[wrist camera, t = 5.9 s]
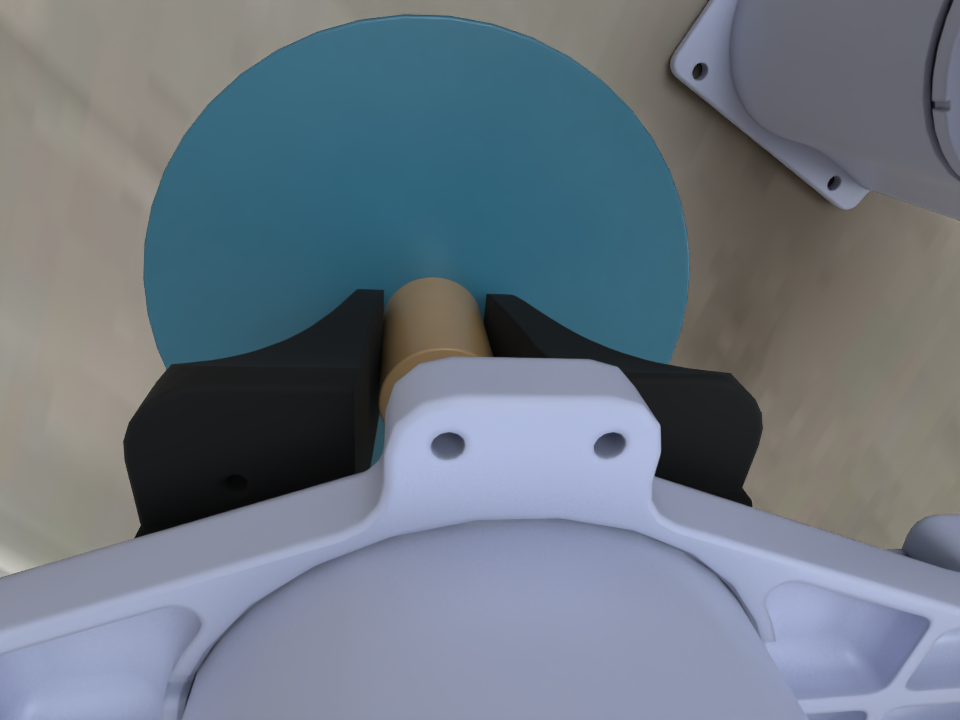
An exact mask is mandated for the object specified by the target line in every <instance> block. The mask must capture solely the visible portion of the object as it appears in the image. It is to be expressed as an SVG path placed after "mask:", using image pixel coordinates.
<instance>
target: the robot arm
mask: <svg viewBox="0 0 960 720" xmlns="http://www.w3.org/2000/svg"><path fill="white" fill-rule="evenodd" d="M698 63H700V64H701V65H702V73H701V76H700V77H699V78H697V79H694V78H693V76H692V71H693V69H694V67H695V66H696V65H697V64H698ZM670 68H671V72H672V73H673V75H674V76H675V77H676V78H678V79H679V80H680V81H681V82H682V83H684V84H685V85H686V86H687V87H689V88H690V89H691V90H692V91H694V92H695V93H696V94H697V95H699V96H700V97H701V98H702V99H703V100H705V101H706V102H707V103H708V104H710V105H711V106H712V107H713V108H715V109H716V110H717V111H718V112H720V113H721V114H722V115H723V116H724V117H726V118H727V119H728V120H729V121H731V122H732V123H733V124H734V125H736V126H737V127H738V128H739V129H740V130H742V131H743V132H744V133H745V134H747V135H748V136H749V137H750V138H752V139H753V140H754V141H755V142H757V143H758V144H759V145H760V146H761V147H763V148H764V149H765V150H766V151H768V152H769V153H770V154H771V155H773V156H774V157H775V158H776V159H777V160H779V161H780V162H781V163H782V164H784V165H785V166H786V167H787V168H789V169H790V170H791V171H792V172H794V173H795V174H796V175H797V176H798V177H800V178H801V179H802V180H803V181H805V182H806V183H807V184H808V185H810V186H811V187H812V188H813V189H815V190H816V191H817V192H818V193H819V194H821V195H822V196H823V197H824V198H826V199H827V200H828V201H829V202H831V203H832V204H833V205H834V206H836V207H838V208H841V209H843V210H849V209H851V208H853V207H855V206H856V205H857V204H858V203H859V202H860V201H861V200H862V199H863V198H864V196H865V195H866V194H867V193H868V192H869V191H870V190H872V191H875V192H878V193H881V194H883V195H886V196H889V197H892V198H895V199H898V200H901V201H904V202H907V203H910V204H913V205H916V206H919V207H922V208H925V209H927V210H930V211H933V212H936V213H939V214H942V215H945V216H948V217H951V218H954V219H957V220H960V0H709V2H708V3H707V5H706V6H705V8H704V9H703V11H702V12H701V14H700V15H699V17H698V18H697V20H696V21H695V23H694V24H693V25H692V27H691V28H690V30H689V31H688V33H687V34H686V36H685V37H684V39H683V40H682V42H681V43H680V45H679V46H678V47H677V49H676V50H675V52H674V54H673V56H672V58H671V62H670ZM833 176H834V182H833V183H832V185H831V186H829V187H827V183H828V181H829V180H830V179H831V178H832V177H833ZM383 324H384V290H372V289H357V290H355V291H354V292H353V293H352V294H351V295H350V296H349V297H348V298H346V299H345V300H344V301H343V302H342V303H341V304H340V305H339V306H338V307H337V308H335V309H334V310H333V311H332V312H331V313H329V314H328V315H326V316H325V317H324V318H322V319H321V320H319V321H318V322H316V323H315V324H314V325H312V326H311V327H309V328H307V329H306V330H304V331H302V332H300V333H298V334H296V335H294V336H292V337H290V338H288V339H286V340H284V341H281V342H278V343H276V344H273V345H270V346H267V347H264V348H262V349H259V350H256V351H252V352H249V353H245V354H241V355H236V356H231V357H227V358H221V359H215V360H208V361H199V362H190V363H180V364H171V365H170V367H169V368H168V369H167V370H166V371H165V373H164V374H163V375H162V376H161V377H160V379H159V380H158V381H157V382H156V384H155V385H154V387H153V388H152V389H151V391H150V392H149V394H148V395H147V397H146V398H145V400H144V401H143V403H142V404H141V406H140V407H139V409H138V410H137V412H136V413H135V415H134V416H133V418H132V419H131V421H130V422H129V424H128V428H127V431H126V434H125V438H124V441H123V444H124V458H125V464H126V468H127V472H128V476H129V480H130V484H131V488H132V492H133V496H134V500H135V504H136V508H137V512H138V516H139V520H140V524H141V526H140V528H139V530H138V532H137V534H136V536H135V538H134V539H131V540H128V541H124V542H121V543H117V544H114V545H110V546H107V547H104V548H100V549H97V550H93V551H90V552H86V553H83V554H80V555H76V556H73V557H69V558H66V559H62V560H59V561H56V562H52V563H49V564H45V565H42V566H38V567H35V568H32V569H28V570H25V571H21V572H18V573H14V574H11V575H8V576H4V577H1V578H0V720H960V514H956V515H933V516H928V517H925V518H923V519H922V520H920V521H918V522H917V523H916V524H915V525H914V526H913V527H912V528H911V530H910V531H909V533H908V535H907V537H906V539H905V541H904V544H903V547H902V549H887V550H884V549H881V548H878V547H875V546H872V545H869V544H866V543H862V542H859V541H856V540H853V539H850V538H847V537H844V536H841V535H837V534H834V533H831V532H828V531H825V530H822V529H819V528H815V527H812V526H809V525H806V524H803V523H800V522H797V521H793V520H790V519H787V518H784V517H781V516H778V515H775V514H772V513H768V512H765V511H762V510H759V509H756V508H753V507H752V500H751V499H750V498H749V496H748V495H747V494H746V492H745V491H744V490H743V488H742V487H743V484H744V482H745V479H746V476H747V474H748V471H749V469H750V466H751V464H752V461H753V458H754V456H755V453H756V451H757V448H758V446H759V442H760V438H761V434H762V430H763V425H762V413H761V411H760V409H759V406H758V404H757V402H756V400H755V399H754V397H753V396H752V395H751V394H750V393H749V392H748V391H747V390H746V389H745V388H744V387H743V386H742V385H741V384H740V383H739V382H738V381H737V380H736V378H735V377H734V376H733V375H732V374H731V373H723V372H715V371H706V370H697V369H689V368H683V367H678V366H672V365H667V364H662V363H658V362H654V361H650V360H645V359H642V358H638V357H635V356H632V355H629V354H625V353H622V352H619V351H616V350H613V349H611V348H608V347H606V346H603V345H601V344H599V343H596V342H594V341H592V340H589V339H587V338H585V337H583V336H581V335H579V334H577V333H575V332H574V331H572V330H570V329H568V328H566V327H564V326H563V325H561V324H559V323H558V322H556V321H554V320H553V319H551V318H550V317H548V316H547V315H545V314H543V313H542V312H540V311H539V310H537V309H536V308H534V307H533V306H531V305H530V304H528V303H527V302H525V301H524V300H522V299H520V298H519V297H517V296H514V295H511V294H486V304H485V314H484V326H485V329H486V333H487V336H488V339H489V343H490V346H491V350H492V353H493V357H457V356H452V357H447V358H443V359H438V360H433V361H428V362H424V363H419V364H418V365H417V366H416V367H414V368H413V369H412V370H411V371H409V372H408V373H407V374H406V375H405V376H403V377H402V378H401V379H400V380H398V381H397V382H396V383H395V384H394V387H393V390H392V393H391V396H390V399H389V402H388V405H387V407H386V410H385V442H384V448H383V453H382V455H381V457H380V459H379V460H378V462H376V463H375V464H374V465H373V466H372V467H371V461H372V456H373V450H374V444H375V438H376V432H377V427H378V421H379V415H380V411H379V402H378V401H379V381H380V362H381V349H382V342H383ZM370 467H371V468H370Z"/></svg>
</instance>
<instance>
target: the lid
mask: <svg viewBox="0 0 960 720" xmlns="http://www.w3.org/2000/svg"><path fill="white" fill-rule="evenodd" d="M689 271H690V264H689V247H688V234H687V229H686V224H685V219H684V214H683V209H682V205H681V201H680V198H679V195H678V192H677V190H676V187H675V184H674V181H673V179H672V176H671V173H670V170H669V168H668V166H667V164H666V163H665V161H664V159H663V157H662V155H661V153H660V151H659V150H658V148H657V146H656V144H655V142H654V140H653V138H652V137H651V136H650V134H649V133H648V132H647V130H646V129H645V127H644V126H643V125H642V123H641V122H640V121H639V119H638V118H637V117H636V115H635V114H634V113H633V111H632V110H631V109H630V108H629V107H628V106H627V105H626V104H625V103H624V102H623V101H622V100H621V99H620V98H619V97H618V96H617V95H616V94H615V93H614V92H613V91H612V90H611V89H610V88H609V87H608V86H607V85H606V84H605V83H604V82H603V81H602V80H601V79H599V78H598V77H597V76H595V75H594V74H593V73H591V72H590V71H588V70H587V69H586V68H584V67H583V66H582V65H580V64H579V63H577V62H576V61H575V60H573V59H572V58H571V57H569V56H567V55H565V54H563V53H561V52H559V51H558V50H556V49H554V48H552V47H550V46H548V45H546V44H544V43H542V42H540V41H538V40H536V39H535V38H533V37H530V36H527V35H524V34H521V33H518V32H515V31H512V30H509V29H506V28H503V27H501V26H498V25H495V24H491V23H486V22H480V21H475V20H469V19H464V18H459V17H453V16H440V15H407V14H404V15H396V16H388V17H379V18H371V19H363V20H358V21H354V22H351V23H347V24H344V25H340V26H336V27H333V28H329V29H326V30H322V31H319V32H316V33H314V34H311V35H309V36H307V37H305V38H303V39H300V40H298V41H296V42H294V43H292V44H290V45H287V46H285V47H283V48H281V49H279V50H277V51H275V52H274V53H272V54H270V55H269V56H267V57H266V58H264V59H263V60H261V61H260V62H258V63H257V64H255V65H254V66H252V67H251V68H249V69H248V70H246V71H245V72H243V73H242V74H240V75H239V76H238V77H237V78H236V79H235V80H234V81H233V82H232V83H231V84H229V85H228V86H227V87H226V88H225V89H224V90H223V91H222V92H221V93H220V94H219V95H218V96H216V97H215V98H214V99H213V100H212V101H211V102H210V103H209V104H208V105H207V107H206V108H205V109H204V110H203V112H202V113H201V114H200V116H199V117H198V118H197V119H196V121H195V122H194V123H193V124H192V126H191V127H190V128H189V129H188V131H187V132H186V133H185V135H184V136H183V138H182V140H181V141H180V143H179V145H178V147H177V149H176V150H175V152H174V154H173V156H172V158H171V159H170V161H169V163H168V165H167V167H166V168H165V170H164V173H163V176H162V179H161V181H160V184H159V187H158V190H157V193H156V195H155V198H154V201H153V204H152V207H151V212H150V217H149V222H148V228H147V233H146V238H145V247H144V287H145V295H146V304H147V312H148V317H149V320H150V324H151V328H152V331H153V335H154V339H155V342H156V346H157V349H158V351H159V353H160V356H161V358H162V360H163V362H164V365H165V367H166V369H168V368H169V367H170V365H171V364H180V363H190V362H199V361H208V360H215V359H221V358H227V357H231V356H236V355H241V354H245V353H249V352H252V351H256V350H259V349H262V348H264V347H267V346H270V345H273V344H276V343H278V342H281V341H284V340H286V339H288V338H290V337H292V336H294V335H296V334H298V333H300V332H302V331H304V330H306V329H307V328H309V327H311V326H312V325H314V324H315V323H316V322H318V321H319V320H321V319H322V318H324V317H325V316H326V315H328V314H329V313H331V312H332V311H333V310H334V309H335V308H337V307H338V306H339V305H340V304H341V303H342V302H343V301H344V300H345V299H346V298H348V297H349V296H350V295H351V294H352V293H353V292H354V291H355V290H357V289H372V290H384V324H383V342H382V349H381V362H380V381H379V401H378V402H379V411H380V415H379V421H378V427H377V432H376V438H375V444H374V450H373V456H372V461H371V467H372V466H373V465H374V464H375V463H376V462H378V460H379V459H380V457H381V455H382V453H383V448H384V442H385V410H386V407H387V405H388V402H389V399H390V396H391V393H392V390H393V387H394V384H395V383H396V382H397V381H398V380H400V379H401V378H402V377H403V376H405V375H406V374H407V373H408V372H409V371H411V370H412V369H413V368H414V367H416V366H417V365H418V364H419V363H424V362H428V361H433V360H438V359H443V358H447V357H452V356H457V357H493V353H492V350H491V346H490V343H489V339H488V336H487V333H486V329H485V326H484V314H485V304H486V294H511V295H514V296H517V297H519V298H520V299H522V300H524V301H525V302H527V303H528V304H530V305H531V306H533V307H534V308H536V309H537V310H539V311H540V312H542V313H543V314H545V315H547V316H548V317H550V318H551V319H553V320H554V321H556V322H558V323H559V324H561V325H563V326H564V327H566V328H568V329H570V330H572V331H574V332H575V333H577V334H579V335H581V336H583V337H585V338H587V339H589V340H592V341H594V342H596V343H599V344H601V345H603V346H606V347H608V348H611V349H613V350H616V351H619V352H622V353H625V354H629V355H632V356H635V357H638V358H642V359H645V360H650V361H654V362H658V363H662V364H667V365H668V363H669V361H670V359H671V357H672V354H673V351H674V348H675V345H676V343H677V340H678V337H679V334H680V331H681V327H682V323H683V318H684V313H685V308H686V304H687V298H688V285H689ZM371 467H370V468H371Z"/></svg>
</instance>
